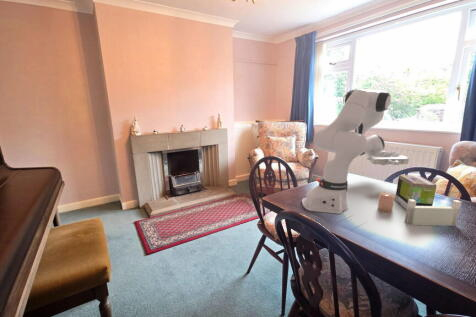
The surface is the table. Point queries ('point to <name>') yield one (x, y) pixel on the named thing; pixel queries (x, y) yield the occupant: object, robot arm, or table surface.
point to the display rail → (432, 214)
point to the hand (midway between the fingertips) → (396, 163)
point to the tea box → (415, 190)
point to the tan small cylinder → (385, 202)
